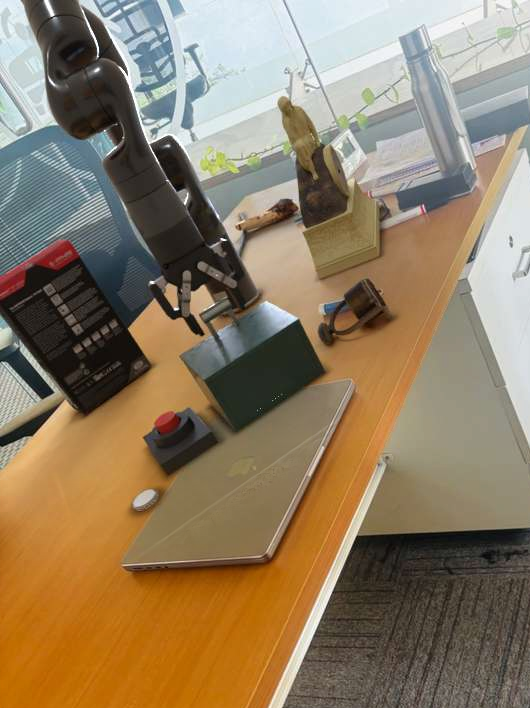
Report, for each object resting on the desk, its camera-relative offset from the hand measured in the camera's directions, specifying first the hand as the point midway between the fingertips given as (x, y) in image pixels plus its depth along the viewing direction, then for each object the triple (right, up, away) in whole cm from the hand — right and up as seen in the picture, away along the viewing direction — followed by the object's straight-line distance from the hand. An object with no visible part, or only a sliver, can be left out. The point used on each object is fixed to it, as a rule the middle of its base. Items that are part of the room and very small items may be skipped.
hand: (221, 321), depth 108 cm
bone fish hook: (-3, +45, +73) cm, 86 cm away
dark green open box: (+7, -10, +3) cm, 13 cm away
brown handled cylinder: (+21, +1, +8) cm, 23 cm away
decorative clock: (+19, +27, +39) cm, 51 cm away
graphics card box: (-27, -6, +29) cm, 40 cm away
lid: (+3, -4, -2) cm, 5 cm away
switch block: (-6, -19, 0) cm, 20 cm away
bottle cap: (-9, -28, -8) cm, 31 cm away
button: (-7, -17, -2) cm, 19 cm away
